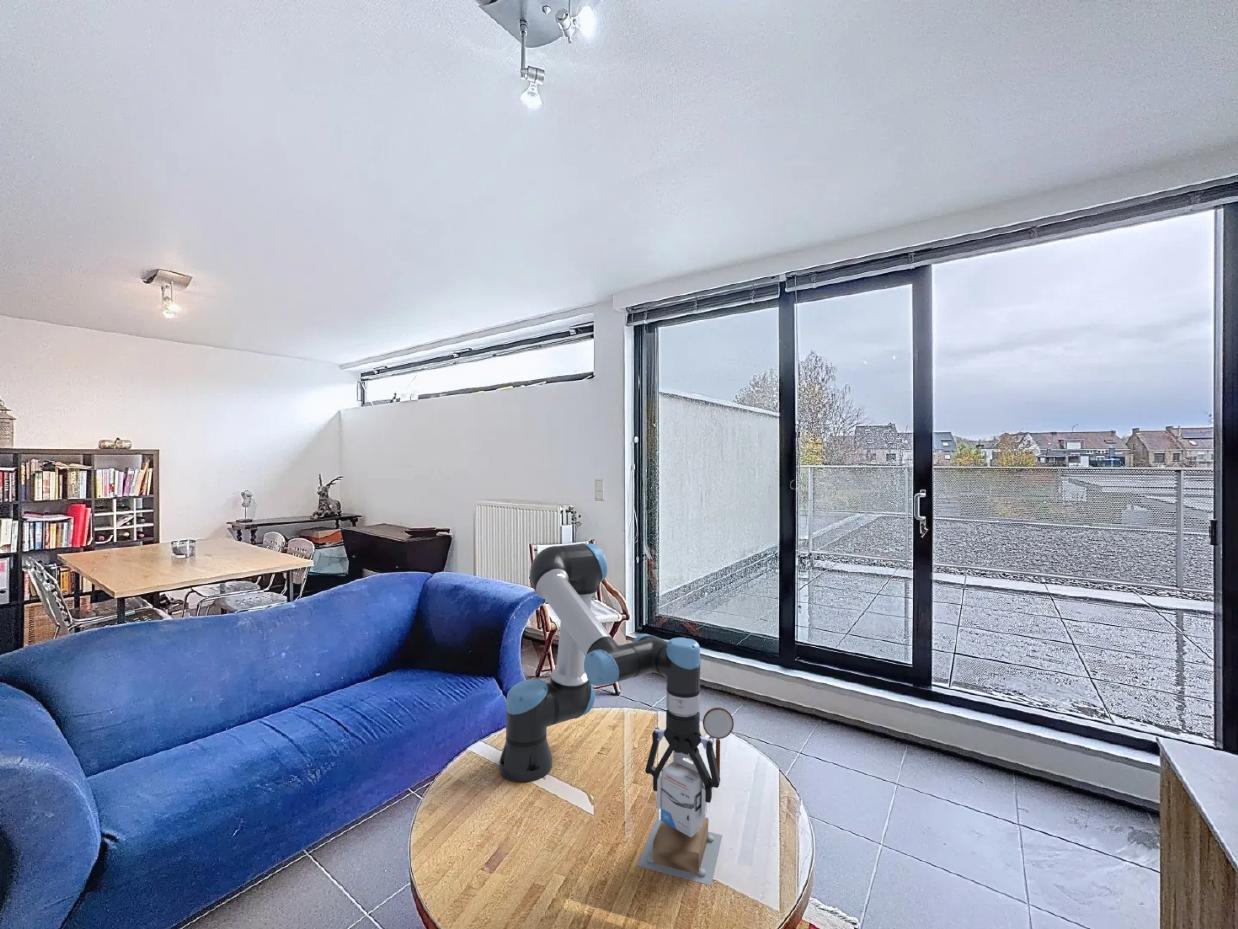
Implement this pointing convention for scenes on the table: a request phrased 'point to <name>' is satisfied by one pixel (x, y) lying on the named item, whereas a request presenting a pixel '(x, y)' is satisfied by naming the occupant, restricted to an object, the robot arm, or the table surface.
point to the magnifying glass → (718, 727)
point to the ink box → (681, 795)
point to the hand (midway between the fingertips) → (681, 810)
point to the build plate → (703, 875)
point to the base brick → (680, 848)
